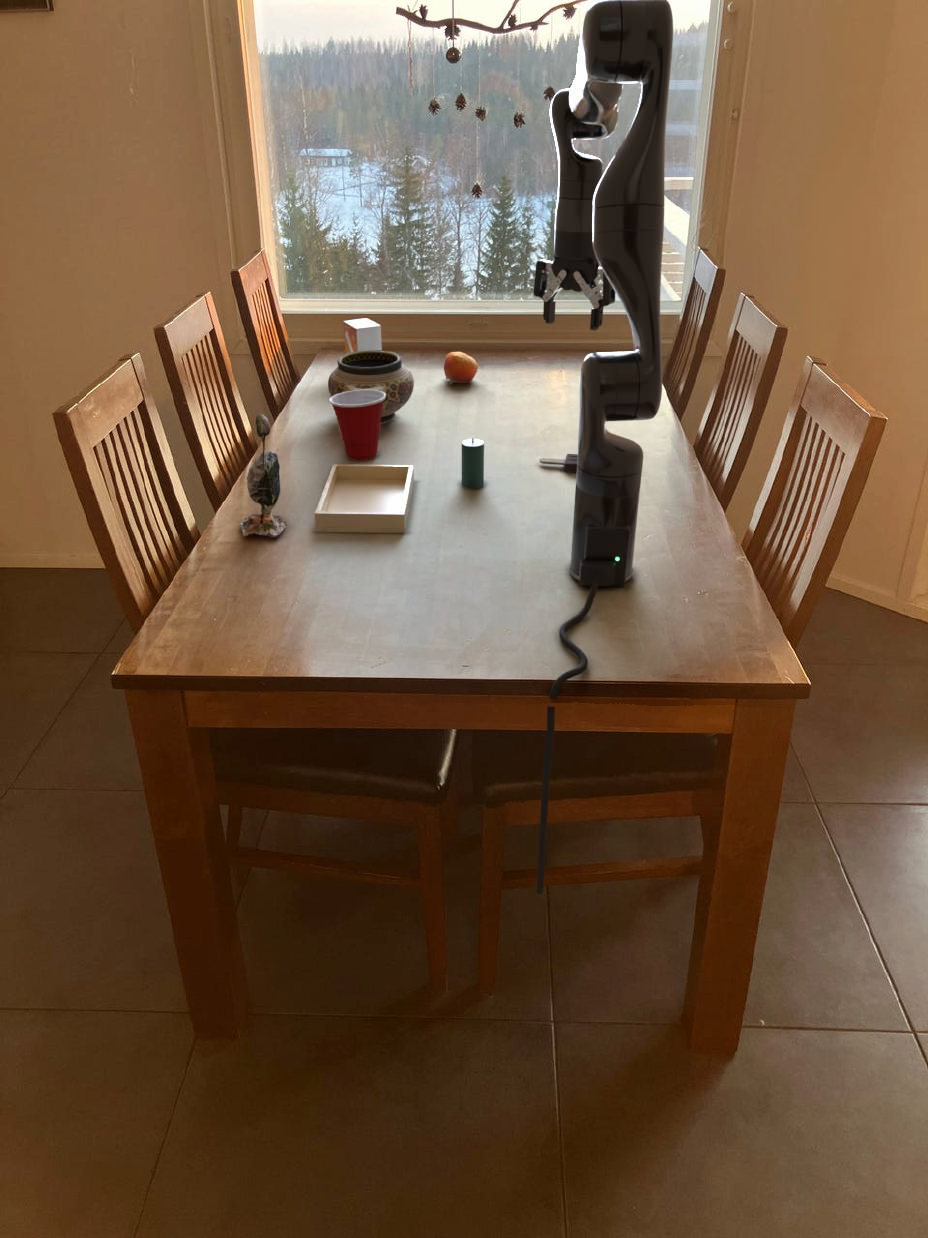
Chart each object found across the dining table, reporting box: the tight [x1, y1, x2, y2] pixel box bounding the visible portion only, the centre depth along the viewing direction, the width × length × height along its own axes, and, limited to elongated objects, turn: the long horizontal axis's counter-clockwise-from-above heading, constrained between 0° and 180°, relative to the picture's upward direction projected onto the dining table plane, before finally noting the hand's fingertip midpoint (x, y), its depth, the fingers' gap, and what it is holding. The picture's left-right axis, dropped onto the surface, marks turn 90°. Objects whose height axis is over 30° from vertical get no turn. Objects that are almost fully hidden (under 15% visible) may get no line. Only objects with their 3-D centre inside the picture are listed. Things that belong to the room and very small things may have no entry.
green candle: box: [461, 437, 485, 490], centre depth 176 cm, size 4×4×9 cm
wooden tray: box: [314, 463, 415, 534], centre depth 169 cm, size 22×15×3 cm
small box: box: [343, 317, 383, 354], centre depth 231 cm, size 8×6×13 cm
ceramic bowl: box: [327, 349, 415, 425], centre depth 206 cm, size 24×18×15 cm
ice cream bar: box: [539, 453, 578, 473], centre depth 185 cm, size 5×2×15 cm
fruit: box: [443, 351, 479, 386], centre depth 231 cm, size 8×8×8 cm
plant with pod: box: [239, 413, 288, 538], centre depth 157 cm, size 8×11×20 cm
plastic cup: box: [328, 389, 386, 461], centre depth 188 cm, size 11×11×12 cm
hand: (572, 326), depth 170 cm, fingers open, 8 cm apart
